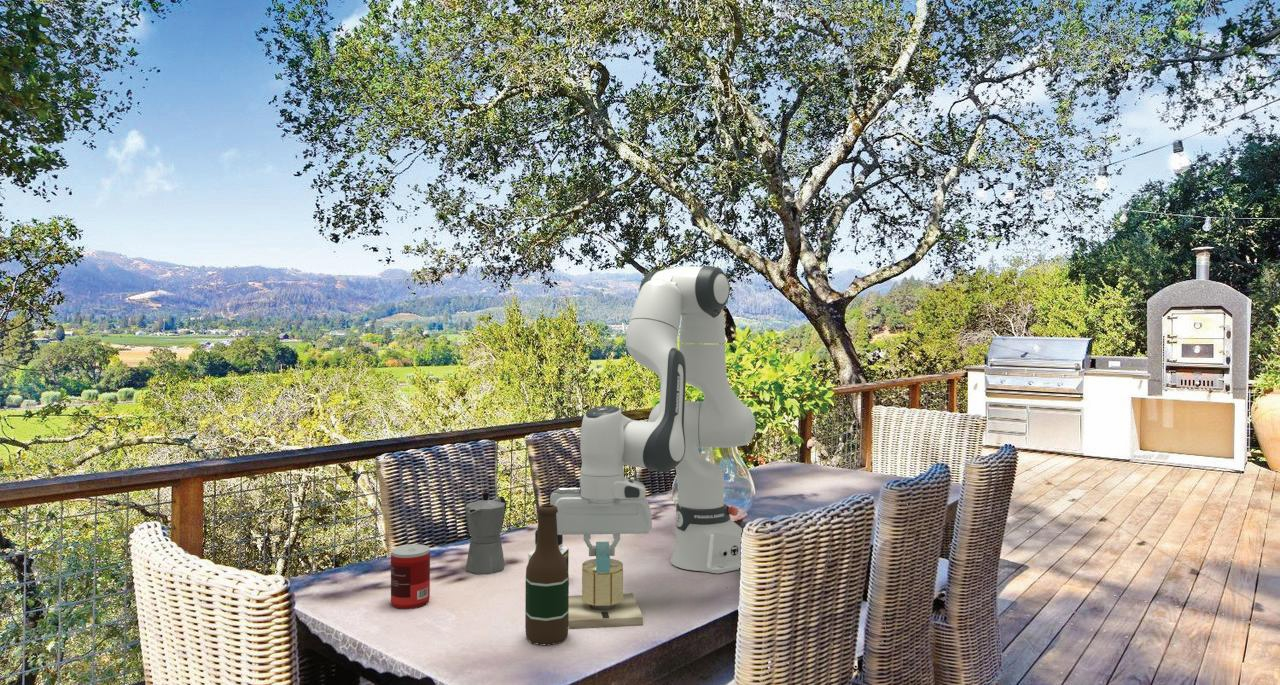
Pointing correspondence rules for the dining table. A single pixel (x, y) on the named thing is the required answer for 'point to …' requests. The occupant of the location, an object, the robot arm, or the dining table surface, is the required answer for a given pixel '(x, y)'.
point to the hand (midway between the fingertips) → (601, 555)
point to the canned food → (410, 576)
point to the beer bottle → (547, 584)
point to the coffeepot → (485, 535)
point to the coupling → (602, 578)
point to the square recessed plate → (604, 613)
